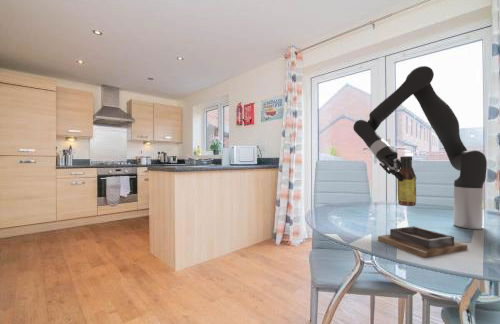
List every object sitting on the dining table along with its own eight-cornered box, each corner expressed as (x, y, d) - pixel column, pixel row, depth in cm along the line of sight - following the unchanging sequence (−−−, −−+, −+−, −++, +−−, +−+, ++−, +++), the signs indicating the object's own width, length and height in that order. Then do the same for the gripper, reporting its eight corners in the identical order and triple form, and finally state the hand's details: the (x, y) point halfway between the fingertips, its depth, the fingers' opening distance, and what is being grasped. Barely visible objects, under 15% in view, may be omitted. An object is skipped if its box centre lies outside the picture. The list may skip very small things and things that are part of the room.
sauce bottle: (419, 207, 92) (419, 156, 92) (401, 206, 94) (401, 156, 93) (411, 203, 99) (411, 156, 98) (394, 203, 100) (395, 156, 100)
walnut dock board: (417, 234, 91) (417, 224, 91) (467, 249, 76) (467, 237, 76) (378, 240, 84) (378, 229, 84) (424, 257, 69) (424, 244, 69)
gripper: (376, 145, 101) (402, 174, 90) (400, 145, 106) (427, 173, 95) (366, 157, 106) (389, 186, 95) (389, 157, 111) (414, 185, 100)
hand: (408, 179), depth 95 cm, fingers closed on sauce bottle, 6 cm apart
